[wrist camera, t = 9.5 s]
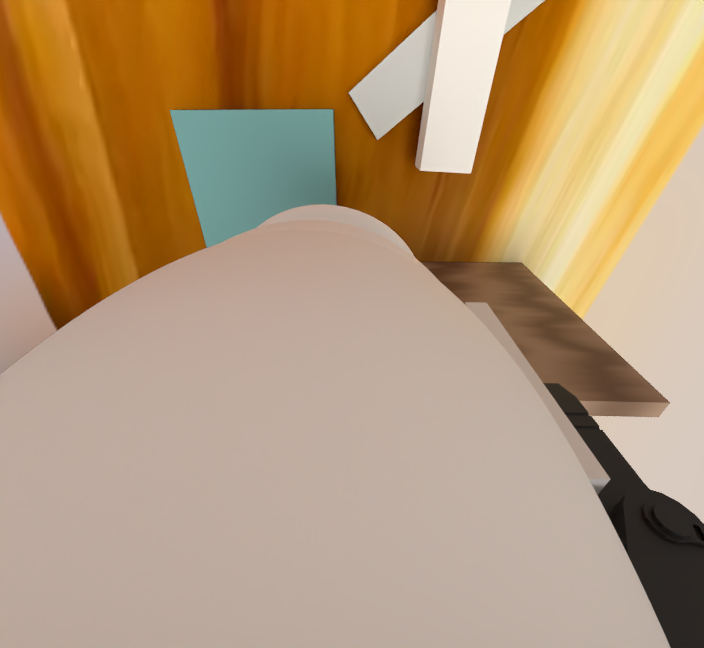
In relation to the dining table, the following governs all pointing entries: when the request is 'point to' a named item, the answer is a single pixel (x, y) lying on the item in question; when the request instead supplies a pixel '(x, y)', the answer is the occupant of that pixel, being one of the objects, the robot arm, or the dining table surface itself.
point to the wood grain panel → (553, 337)
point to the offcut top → (459, 82)
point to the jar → (297, 466)
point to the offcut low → (409, 74)
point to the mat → (255, 164)
